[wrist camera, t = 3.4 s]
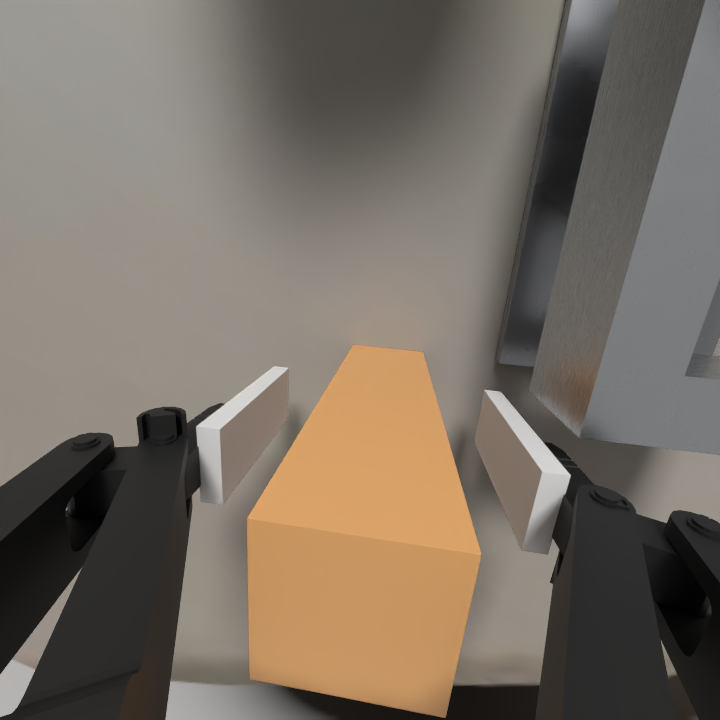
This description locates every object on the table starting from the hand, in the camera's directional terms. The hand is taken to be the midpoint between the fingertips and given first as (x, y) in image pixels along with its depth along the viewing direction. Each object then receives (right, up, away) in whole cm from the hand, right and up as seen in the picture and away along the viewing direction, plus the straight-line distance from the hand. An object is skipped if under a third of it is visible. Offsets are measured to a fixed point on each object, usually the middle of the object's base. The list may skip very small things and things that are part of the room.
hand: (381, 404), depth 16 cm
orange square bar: (0, +1, +3) cm, 4 cm away
